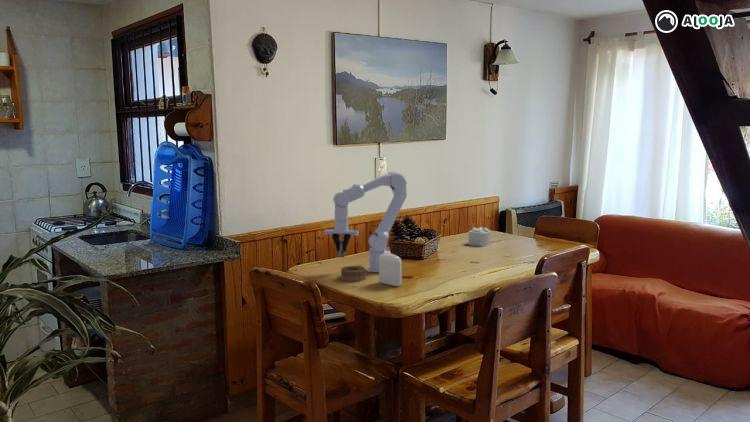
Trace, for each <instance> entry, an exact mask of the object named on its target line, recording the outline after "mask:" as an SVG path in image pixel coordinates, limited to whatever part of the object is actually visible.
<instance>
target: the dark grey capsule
mask: <svg viewBox="0 0 750 422" xmlns="http://www.w3.org/2000/svg"><path fill="white" fill-rule="evenodd" d="M338 258H345V252H344V241H343V239H342V240H340V241H339V252H338Z"/></svg>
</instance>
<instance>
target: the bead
mask: <svg viewBox="0 0 750 422" xmlns="http://www.w3.org/2000/svg"><path fill="white" fill-rule="evenodd" d="M340 279H341V280H343V281H346V282H361V281H365V280H366V279H367V269H366V268H365V267H364V266H358V265H350V266H349V265H348V266H344V267H343V266H342V267H341V268H340Z"/></svg>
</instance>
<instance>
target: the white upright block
mask: <svg viewBox="0 0 750 422" xmlns="http://www.w3.org/2000/svg"><path fill="white" fill-rule="evenodd" d="M378 282H379V283H380V284H384V285H388V286H392V287H401V286H402V285H403V261H402V259H401V257H399V256H398V255H397V254H394V253H391V254H382V255H380V257H379V272H378Z"/></svg>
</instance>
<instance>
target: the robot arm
mask: <svg viewBox="0 0 750 422" xmlns="http://www.w3.org/2000/svg"><path fill="white" fill-rule="evenodd" d="M382 186H385V187H389V188H391V191H392V194H393V196H392V198H391V201H390V203H389V205H388V207H387V208H386V211H385V213H384V215H383V216H382V217H383V218H382V219H381V221H380V223H379V224H378V227H377V228H376V229H375V230H374V232H373V233H372V234H371V235H370V236H369V237H368V241H367V242H368V244H369V246H370V247H369V249H368V251H369V253H368V254H369V255H368V257H369V259H368V260H369V261H368V263H369V264H368V265H369V267H368V268H367V269H366V273H379V257H380V255H382V254H392V253H391V251H390V250H387V249H386V248H387V246H388V240H389V237H390V236H389V233H390V231H391V230H392V227H393V226H394V223H395V221H396V219H397V217H398V215H399V213H400V210H401V208H402V207H403V205H404V203H405V201H406V198H407V194H408V193H407V179H406V178H405V176H404V174H401V173H398V172H395V171H390V172H388V173H385V174H383V175H381V176H378V177H377V178H374V179H372V180H370V181H368V182H366V183H364V184H363V185H361V184H356V183H354V184H352V186H351V187H348V188H347V189H342V191H338V192H336V193H335V194H334V196H333V198H332V200H333V203H334V228H333V229H332V228H331V229H324V235H331V238H332V241H333V242H334V245H335V248H336V252H338V253H339V241H340V239H341V236H342V240H343V241H344V253H345V252H347V248H348V245H349V242H350V239H351V237H352V236H359V230H355V229H349V210H348V208H349V203H352V202H354V201H357V200H359V199H361V198H363V197H364V196H365V194H366V193H367V192H369V191H372V190H374V189H376V188H380V187H382Z"/></svg>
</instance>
